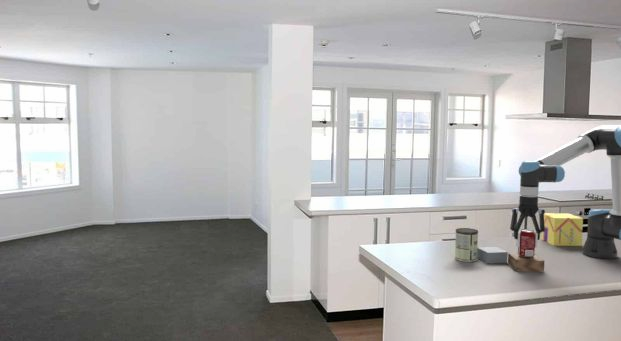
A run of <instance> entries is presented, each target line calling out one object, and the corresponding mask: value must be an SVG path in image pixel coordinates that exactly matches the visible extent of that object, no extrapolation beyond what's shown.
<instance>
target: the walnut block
mask: <svg viewBox="0 0 621 341" xmlns="http://www.w3.org/2000/svg"><path fill="white" fill-rule="evenodd" d="M507 265H509V266H510V268H512V269H513V270H514V272H535V273H544V272H545V260H544V259H543V258H541V257H540V256H539V255H538V254H536V253H534V257H532V258H523V257H520V256H519V255H518V252H508V257H507Z"/></svg>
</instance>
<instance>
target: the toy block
mask: <svg viewBox="0 0 621 341" xmlns="http://www.w3.org/2000/svg"><path fill="white" fill-rule="evenodd" d="M583 224H584V218H582V217H580V216H577V215H574V214H572V213H567V212H566V213H557V212H556V213H554V212H552V213H550V212H549V213H544V226H545V231H544V232H541V233H540V240H542V241H543V240H544V242H546V243H547V244H549V245H552V246H557V247H558V246H560V247H561V246H564V247H565V246H566V247H568V246H571V247H572V246H573V247H574V246H575V247H582V246H583V245H582V243H583V242H582V241H583Z"/></svg>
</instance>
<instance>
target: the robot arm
mask: <svg viewBox="0 0 621 341" xmlns="http://www.w3.org/2000/svg"><path fill="white" fill-rule="evenodd" d="M599 150H605V151H606V156H607V157H608V158H609V159H610V173H611V175H610V176H611V196H612V208H611V209H610V208H608V209H607V208H605V209H604V208H599V209H597V208H596V209H595V208H594V209H590V210H588V215H587V233H586V234H587V235H586V236H587V237H586V240H585V242H584V244H583V245H582V246H583V247H582V253H581V254H582V255H585V256H587V257H591V258H596V259H597V258H598V259H608V260H609V259H617V258H618V250H617V245H616V243H615V239H616V240H619V241H621V124H611V125H610V124H604V125H599V126H596V127H594V128H592V129H590V130H588V131H586V132H584V133H582V134H579V135H578V136H577V139H574V140H572V141H570V142H569V143H567V144H565V145H562V146H561V147H559V148H557V149H555V150H553V151H552V152H549V153H548V154H546V155H544V156H542V157H539V158H537V159H536V160H534V161H533V160H524V161H522V162H521V164H520V166H519V167H518V174H519V176H520V181H519V184H520V186H519V195H520V196H519V200H518V201H519V204H518V207H516V208H511V211H512V214H511V221H510V228H509V229H510V230H511V231H513V232H514V233H513V234H514V236H513V238H514V240H515V246H516V247H517V248H518V247H520V230H521V227H522V224H523V222H524V220H525V219H526V218H528V217H529V218H530V219H531V220H532V224H533V226H534V229H535V230H534V234H535V249H537V248H538V241H540V240H541V232H544V231H545V226H544V213H545V212H546V210H545V209H543V208H539V207H538V205H539V197H538V196H539V185H540V183H560V182H562V181H563V180H564V179H565V175H566V171H565V169H564V168H563V166H562V165H565V164H566V163H568V162H570V161H572V160H574V159H576V158H579V157H580V156H582V155H584V154H586V153H587V154H591V153H592V152H595V151H599ZM519 212H520V214H519V218H518V220H517V216H518V213H519ZM537 213H538V214H539V215H538V216H539V217H538V218H539V223H538V220H537V216H536V214H537Z"/></svg>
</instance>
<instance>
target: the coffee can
mask: <svg viewBox="0 0 621 341" xmlns="http://www.w3.org/2000/svg"><path fill="white" fill-rule="evenodd" d="M478 233H479V230H478V229H476V228H469V227H459V228H455V247H454V248H455V249H454V251H455V252H454V259H455V260H456V261H460V262H464V263H466V262H467V263H468V262H469V263H473V262H474V263H475V262H477V261H478V258H477V247H478V241H479V240H478V238H479V234H478Z"/></svg>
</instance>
